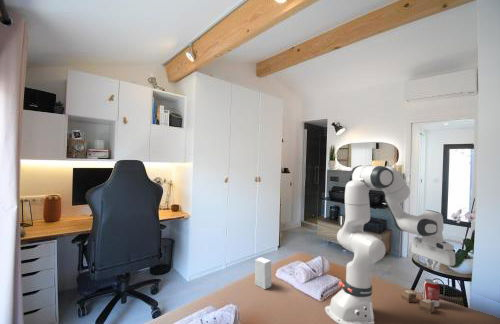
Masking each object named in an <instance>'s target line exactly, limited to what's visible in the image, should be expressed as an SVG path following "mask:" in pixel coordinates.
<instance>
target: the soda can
mask: <svg viewBox="0 0 500 324" xmlns="http://www.w3.org/2000/svg"><path fill="white" fill-rule="evenodd" d="M422 286H423V288H422V289H423V291H422V294H423V296H422V298H425V299H428V300H430V301H433V302H434V308H439V307H440V288H441V287H440V285H439V281H436V280H435V279H431V278H430V279H429V278H425V280H424V281H423V285H422Z"/></svg>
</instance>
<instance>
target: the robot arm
mask: <svg viewBox="0 0 500 324" xmlns="http://www.w3.org/2000/svg"><path fill="white" fill-rule="evenodd" d="M348 180H349V181H347V183H346V184H345V189H344V223H343V225H342V227H341V228H340V229H339V230H337V231H338V232H337V234H336V239H337V243H338V244H340V246H342V247H343V249H346V250H347V251H349V252H352V253H353V259H352V260H350V261H349V262H347V263H346V266H345V267H346V268H345V270H346V271H345V280H344V283H343V282H342V281H338V286H340V287H341V290H339V291H338V292H337V293H336V294H335V295H334V296H332V297H331V299H330V303H329V305H327V306H325V307H324V311H325V313H326V315H327V316H328V317H329V318H331V319H332V320H333V321H334V322H335V323H336V324H375V314H374V310H373V302H372V294H373V285H372V275H373V274H372V273H373V267H374V266H375V264H376V263H377V262H378V261H380V260H382V259H383V258H384V257H385V254H386V244H385V243H384V242H383V241H382V240H381V239H380V238H378V237H376V236H375V235H373V234H370V233H367V232H364V226H365V224H368V223H369V222H370V220H371V209H370V207H371V203H370V196H369V193H370V190H371V189H381V190H382V192H383V193H384V201H385V202H386V205H387V208H388V210H389V211H390V214H391V215H392V217H393V218H392V219H393V222H394V225H395V228H396V229H397V230H398V231H401V232H405V233H410V234H413V235H417V236H414V237H413V238H412V243H411V249H410V250H411V253H412V254H414V255H417V256H420V257H423V258H424V260H425V262H426V267H427V268H429V269H432V270H436V266H437V265H438V263H439V264H443V265H445V266H446V267H454V266H455V265H456V254H455V251H454V249H455V246H454V245H453V244H451V243H450V242H448V241H446V240H445V239H444V235H443V231H444V218H443V214H442V213H441V212H439V211H435V210H429V209H424V211H423V213H422V214H420V215H414V214H409V213H407V212H406V211H404V209H403V207H402V205H401V203H403V202H404V201H406V200H407V199H408V198H409V196H410V194H411V189H410V187H409V185H408V183H407V182H406V180H405V179H404V178H403V176H402V175H401V173H400V172H399V171H398V170H397V169H396V168H394V167H393V166H390V165H389V166H383V165H372V164H367V165H365V164H364V165H357V166H354V167H353V168H351V170H350V173H349V179H348ZM418 236H419V237H418ZM431 261H432V263H431Z"/></svg>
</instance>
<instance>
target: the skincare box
mask: <svg viewBox="0 0 500 324" xmlns="http://www.w3.org/2000/svg"><path fill="white" fill-rule="evenodd" d="M254 285H255V286H258V287H259V288H261V289H264V290H266V289H268V288H271V287H272V260H270V259H267V258H264V257H262V256H260V257H257V258H256V259H254Z"/></svg>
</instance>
